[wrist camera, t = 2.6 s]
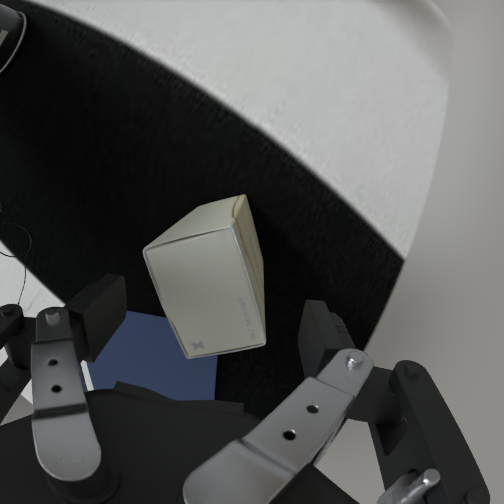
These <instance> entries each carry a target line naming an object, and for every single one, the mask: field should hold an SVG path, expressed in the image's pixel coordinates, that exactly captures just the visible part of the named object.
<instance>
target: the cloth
mask: <svg viewBox="0 0 504 504" xmlns="http://www.w3.org/2000/svg"><path fill="white" fill-rule="evenodd" d="M217 358H218V355H212V356H205V357H198V358H191V359H187V358H186V356H185V354H184V352H183V350H182V348H181V346H180V344H179V342H178V340H177V338H176V336H175V333H174V331H173V329H172V327H171V325H170V323H169V320H168V318H166V317H160V316H154V315H148V314H143V313H137V312H132V311H127V313H126V317H125V319H124V321H123V322H122V324H121V325H120V326H119V328H118V329H117V331H116V332H115V333H114V335H113V336H112V337H111V339H110V340H109V342H108V343H107V344H106V346H105V347H104V349H103V350H102V352H101V353H100V354H99V356H98V357H97V359H96V360H95V362H94V363H91V362H87V361H86V362H87V366H88V370H89V374H90V377H91V381H92V384H93V387H94V390H97V389H113V388H114V386H115V384H116V382H117V381H120V382H124V383H128V384H132V385H136V386H140V387H144V388H147V389H150V390H152V391H154V392H156V393H159V394H161V395H164V396H166V397H168V398H171V399H174V400H214V399H215V385H216V371H217Z"/></svg>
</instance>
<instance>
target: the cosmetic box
mask: <svg viewBox="0 0 504 504" xmlns="http://www.w3.org/2000/svg"><path fill="white" fill-rule="evenodd" d="M143 256H144V258H145V261H146V264H147V267H148V270H149V273H150V276H151V278H152V281H153V284H154V286H155V289H156V291H157V294H158V297H159V299H160V302H161V304H162V307H163V309H164V311H165V314H166V316H167V318H168V320H169V323H170V325H171V327H172V329H173V331H174V333H175V336H176V338H177V340H178V342H179V344H180V346H181V348H182V350H183V352H184V354H185V356H186V358H187V359H191V358H198V357H205V356H212V355H219V354H224V353H230V352H236V351H241V350H246V349H250V348H255V347H259V346H263V345H265V344H266V333H265V311H264V275H263V259H262V255H261V251H260V246H259V242H258V238H257V234H256V230H255V226H254V222H253V218H252V215H251V211H250V207H249V204H248V200H247V196H246V195H245V194H244V195H240V196H235V197H231V198H227V199H223V200H219V201H215V202H212V203H208V204H205V205H201V206H199V207H197V208H196V209H195V210H193V211H192V212H191V213H189V214H188V215H186V216H185V217H184V218H183V219H181V220H180V221H179V222H177V223H176V224H175V225H173V226H172V227H171V228H169V229H168V230H167V231H166V232H164V233H163V234H162V235H160V236H159V237H158V238H157V239H155V240H154V241H153V242H151V243H150V244H149V245H147V246H146V247H145V248H144V249H143Z"/></svg>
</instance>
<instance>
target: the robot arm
mask: <svg viewBox="0 0 504 504" xmlns="http://www.w3.org/2000/svg"><path fill="white" fill-rule="evenodd" d="M28 26H29V20H28V17H27V15H26V14H24V13H22V12H19V11H15V10H13V9H11V8H8V7H6V6H4V5H2V4H0V76H1V75H2V74H3V73H4V72H5V71H6V70H7V69H8V68H9V66H10V65H11V64H12V62H13V61H14V59H15V58H16V56H17V54H18V53H19V51H20V49H21V47H22V45H23V43H24V40H25V38H26V35H27V31H28ZM126 313H127V302H126V287H125V278H124V276H121V275H115V274H109V273H108V274H106V275H105V276H104V277H103V278H101V279H100V280H99V281H98V282H95V283H93V284H90V285H88V286H87V287H85V288H84V289H83V290H82V291H81V292H80V293H78V294H77V296H75V297H74V298H73V299H72V300H71V301H69V302H68V303H67V304H66V305H65V306H64V307H63V308H62V307H49V308H46V309H44V310H42V311H40V312H39V313H38V315H37V318H33V317H24V315H23V311H22V308H21V307H20V306H19V305H17V304H7V305H4V306H1V307H0V350H1V349H2V348H3V347H5V350H6V352H7V355H8V358H7V360H6V361H5V362H4V363H3V364H2V365H1V367H0V424H1V422H2V421H3V419H4V417H5V416H6V414H7V413H8V411H9V410H10V408H11V407H12V405H13V404H14V402H15V401H16V399H17V398H18V396H19V395H20V394H21V392H22V391H23V389H24V388H25V386H26V385H27V384H28V382H29V381H30V380H31V378H32V395H33V406H34V413H33V414H31V415H28V416H26V417H23V418H21V419H18V420H15V421H13V422H10V423H7V424H4V425H2V426H0V504H359V503H358V502H357V501H356V500H354V499H353V498H352V497H350V496H349V495H348V494H347V493H346V492H344V491H343V490H342V489H341V488H339V487H338V486H337V485H336V484H335V483H333V482H332V481H331V480H330V479H329V478H327V477H326V476H325V475H324V474H323V473H322V472H320V471H319V470H318V469H317V468H316V465H317V464H318V462H319V461H320V460H321V458H322V457H323V455H324V454H325V452H326V451H327V449H328V448H329V446H330V445H331V444H332V442H333V441H334V439H335V438H336V436H337V435H338V433H339V432H340V430H341V429H342V427H343V426H344V424H345V423H346V421H347V419H353V420H358V421H363V422H368V425H369V428H370V432H371V436H372V439H373V443H374V447H375V451H376V455H377V459H378V463H379V466H380V471H381V475H382V479H383V483H384V488H385V492H384V493H383V494H382V495H381V496H380V497H379V499H378V501H377V504H490V494H489V491H488V488H487V486H486V484H485V481H484V479H483V477H482V474H481V472H480V470H479V468H478V465H477V463H476V461H475V459H474V457H473V455H472V453H471V451H470V449H469V446H468V444H467V443H466V440H465V438H464V436H463V434H462V433H461V431H460V429H459V427H458V425H457V423H456V421H455V419H454V417H453V415H452V414H451V412H450V410H449V408H448V406H447V405H446V403H445V401H444V399H443V397H442V396H441V394H440V392H439V390H438V388H437V387H436V385H435V383H434V382H433V380H432V378H431V377H430V375H429V373H428V372H427V370H426V369H425V368H424V367H423V366H422V365H420V364H419V363H416V362H413V361H409V360H403V361H399V362H398V363H397V364H396V365H395V368H394V370H389V369H384V368H379V367H375V366H374V363H373V360H372V358H371V357H370V356H369V355H368V354H366V353H365V352H362V351H360V350H357V349H356V347H355V345H354V343H353V341H352V339H351V337H350V335H349V334H348V331H347V329H346V328H345V324H344V322H343V320H342V319H341V318H340V317H339V316H337V315H336V314H335V313H329V311H328V308H327V306H326V304H325V302H324V301H317V300H306V303H305V306H304V311H303V315H302V319H301V324H300V328H299V333H298V346H299V351H300V356H301V361H302V366H303V371H304V376H305V380H304V381H303V382H302V383H301V384H300V385H299V386H298V387H297V388H296V389H295V390H294V391H293V392H292V393H291V394H290V395H289V396H288V397H287V398H286V399H285V400H284V401H283V402H282V403H281V404H280V405H279V406H278V407H277V408H276V409H275V410H274V411H273V412H272V413H271V414H270V415H268V416H267V417H266V418H265V419H264V420H261V419H259V418H257V417H254V416H252V415H249V414H246V413H243V406H244V403H235V402H226V401H218V400H174V399H171V398H168V397H166V396H164V395H161V394H159V393H156V392H154V391H152V390H150V389H147V388H144V387H140V386H136V385H132V384H128V383H124V382H120V381H117V382H116V384H115V386H114V388H113V389H97V390H92V391H88V390H87V387H86V383H85V379H84V375H83V371H82V367H81V364H80V363H81V362H82V360H84V361H87V362H91V363H94V362H95V360H96V359H97V357H98V356H99V354H100V353H101V352H102V350H103V349H104V347H105V346H106V344H107V343H108V342H109V340H110V339H111V337H112V336H113V335H114V333H115V332H116V331H117V329H118V328H119V326H120V325H121V324H122V322H123V321H124V319H125V317H126ZM405 419H406V420H405Z"/></svg>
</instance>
